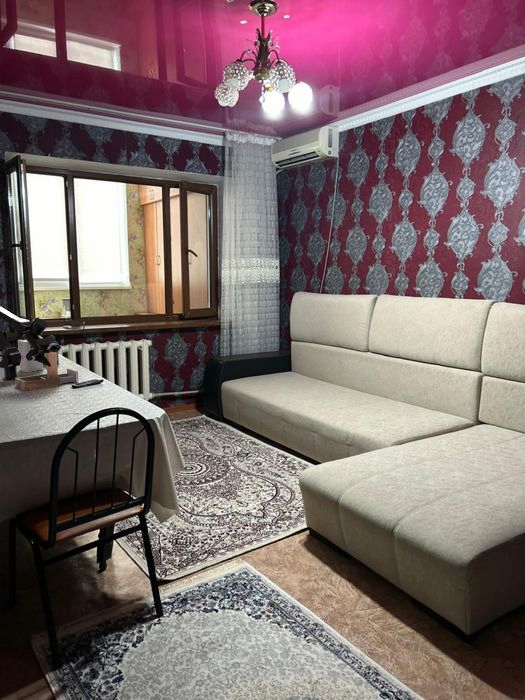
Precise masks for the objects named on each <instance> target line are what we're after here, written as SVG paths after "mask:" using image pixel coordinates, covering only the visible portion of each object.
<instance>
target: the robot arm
mask: <svg viewBox="0 0 525 700" xmlns="http://www.w3.org/2000/svg"><path fill="white" fill-rule="evenodd" d="M0 319H1V320H3V321H5V322H6V323H8V324H9V325H11V328H12V329H13V330H14V332H16V333H18V334H22V333H24V334H22V335H21V340H22V341H23V340H27V341H28V343H29V344H30V345H31V346H30V348H31V349H30V351H29V352H28V353H27V354H26V359H27V360H28V361H30V360H33V357H32V356H34V357H35V359H34V361H38V362H40V363H42V364H45V365H44V366H46V367H47V366H49V367H50V366H51V364H50V363H49V361H48V360H47V358H46V357H45V354H46V353H48V352H56V353H57V352H58V353H59V351H60V350H61V349H62V346H61V345H60V344H59V343H58V344H55V345H52V346H51V347H50V348H49V349H48V347H49V346H50V345H49V344H51V343H55V341H56V336H54V335H53V334H50V335H48V336H46V337H44V338H43V337H42V339H41V338H40V337H39V336H41V335H42V334H43V332H44V331H45V330H46V329H47V328H48V323H47V321H46V320H43V319H41V318H40V317H35V318H34V321H33V320H32V321H30V320H29V319H25V318H22V317H19V316H17V315H15V314H13V313H11V312H10V311H8V310H7V309H5V308H4V307H3V306H1V305H0ZM32 348H33V349H32ZM0 351H1V352H0V353H1V354H0V357H1V360H0V369H3V375H4V376H2V377H1V378H2V379H3V380H6V381H12V380H15V378H20V377H19V376H18V372H17V367H20V363H21V358H22V357H21V353H20V352H19V350H18V346H15V347H14V346H11V344H10V342H9V341H8V339H7V338H6V335H4V332H3V331H2V330H1V328H0ZM59 364H60V362H59V363H58V360H57V366H58V365H59Z"/></svg>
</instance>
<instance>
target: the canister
mask: <svg viewBox="0 0 525 700" xmlns="http://www.w3.org/2000/svg"><path fill="white" fill-rule="evenodd" d="M46 358H47V360H48V361H49V363H50V364H51V366H50V367H49V366H47V365H46V374H47V379H48V378H55V377H58V374H59V373H58V365H57V353H56V352H48V353H46Z"/></svg>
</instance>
